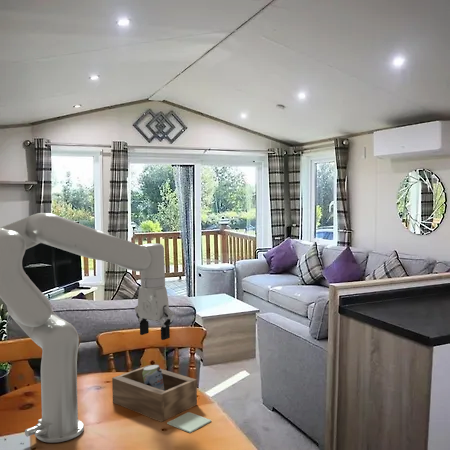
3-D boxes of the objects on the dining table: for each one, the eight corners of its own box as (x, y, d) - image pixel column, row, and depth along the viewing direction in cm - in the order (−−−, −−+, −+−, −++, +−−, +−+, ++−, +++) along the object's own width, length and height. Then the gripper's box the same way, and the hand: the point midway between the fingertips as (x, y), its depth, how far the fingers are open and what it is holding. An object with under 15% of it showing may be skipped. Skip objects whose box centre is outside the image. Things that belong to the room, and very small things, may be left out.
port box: (161, 421, 139) (160, 394, 139) (112, 402, 154) (112, 377, 153) (196, 404, 151) (196, 379, 151) (148, 388, 165) (148, 365, 165)
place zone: (190, 433, 132) (190, 431, 132) (167, 423, 138) (167, 422, 138) (211, 421, 139) (211, 420, 139) (188, 413, 145) (188, 411, 145)
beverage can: (164, 407, 149) (164, 369, 149) (141, 407, 149) (140, 369, 149) (167, 399, 156) (166, 363, 155) (144, 399, 156) (144, 363, 155)
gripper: (125, 282, 153) (127, 334, 154) (163, 287, 143) (165, 344, 143) (143, 278, 159) (145, 329, 160) (181, 283, 148) (182, 338, 149)
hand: (154, 336), depth 152 cm, fingers open, 9 cm apart
